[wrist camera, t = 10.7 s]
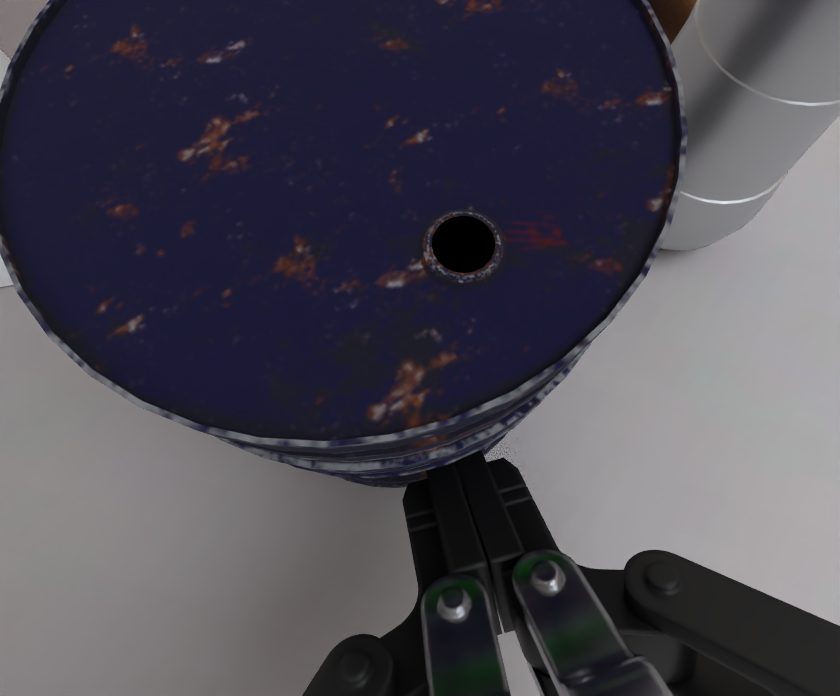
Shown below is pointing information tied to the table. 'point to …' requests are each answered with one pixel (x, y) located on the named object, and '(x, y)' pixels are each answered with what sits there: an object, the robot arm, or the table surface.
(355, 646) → the robot arm
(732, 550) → the table surface
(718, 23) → the silver bottle
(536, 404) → the navy blue cylinder
